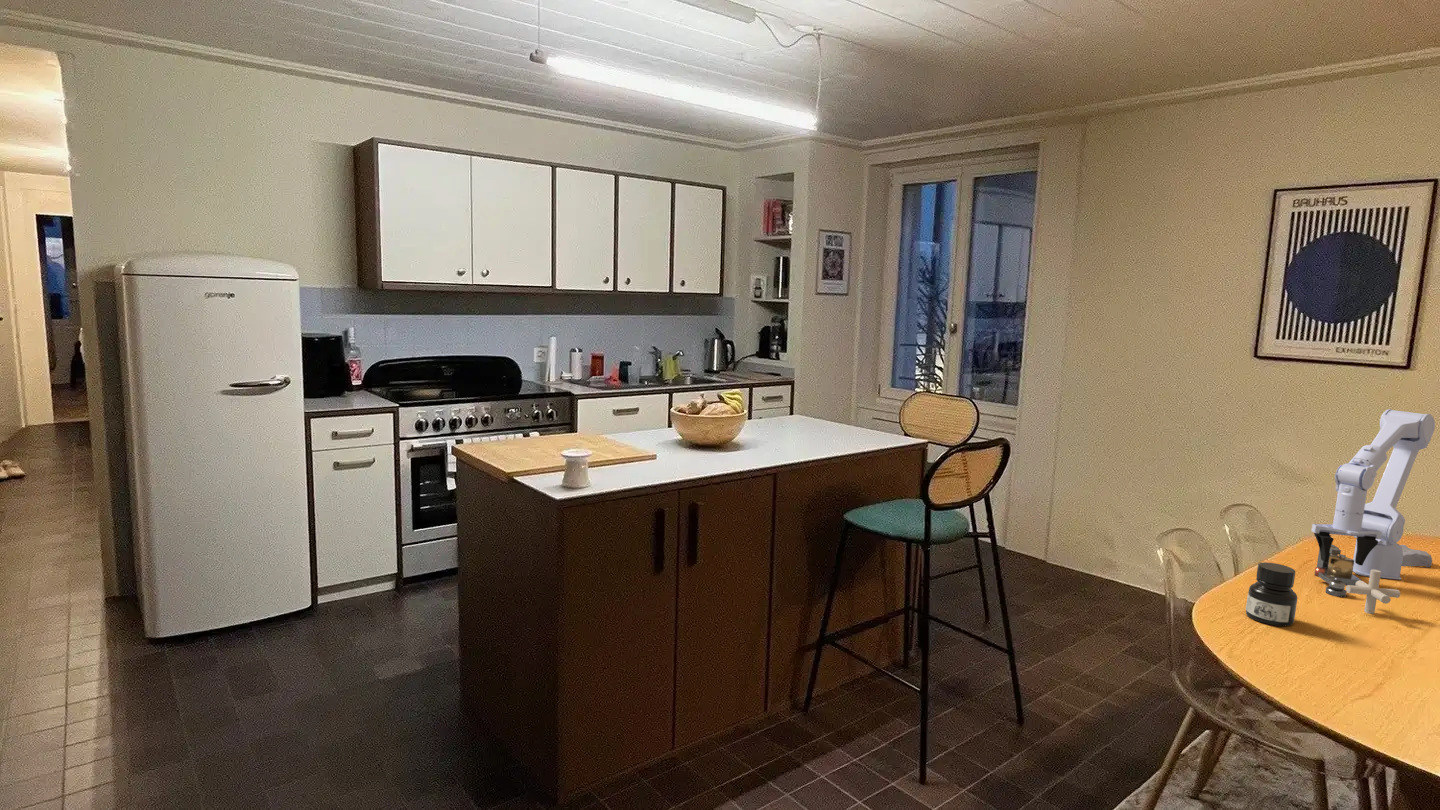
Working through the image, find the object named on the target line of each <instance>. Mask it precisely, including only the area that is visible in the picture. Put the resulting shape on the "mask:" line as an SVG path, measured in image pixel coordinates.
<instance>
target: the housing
mask: <svg viewBox="0 0 1440 810" xmlns="http://www.w3.org/2000/svg"><path fill="white" fill-rule="evenodd" d="M1353 566H1354V560H1353V558H1349V557H1347V556H1346V555H1345V554H1341V553H1340V554H1339V555H1338V556H1336V555H1331V556H1330V557H1329V564H1328V570H1327V572H1328V573H1329V574H1331V575H1334V576H1338V577H1344V578H1351V577H1352V574H1353Z"/></svg>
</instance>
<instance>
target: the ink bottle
mask: <svg viewBox="0 0 1440 810" xmlns="http://www.w3.org/2000/svg"><path fill="white" fill-rule="evenodd" d="M1295 578H1296V569H1294V568H1292V567H1290V566H1287V565H1284V564H1280V563H1274V562H1266V561H1265V562H1259V563H1257V571H1256V578H1255V580H1256V582H1255V583H1252V584H1250V585H1249V589H1248V593H1247V596H1246V597H1247V598H1246V605H1245V614H1246V616H1248V618H1250V619H1253V620H1254V621H1257V622H1259V623H1262V624H1267V625H1271V626H1276V627H1290V626H1292V625H1293V624H1294V623H1295V618H1296V610H1297V606H1298V605H1297V604H1298V595H1297V593H1296V592H1295V591H1294V590H1293V589H1292V588H1293V587H1294V585H1295Z"/></svg>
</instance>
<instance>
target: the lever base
mask: <svg viewBox="0 0 1440 810" xmlns="http://www.w3.org/2000/svg"><path fill="white" fill-rule="evenodd" d="M1334 581H1336V582H1342V578H1338V577H1334ZM1324 591H1325V593H1326V594H1327V595H1329V596H1332V597H1337V598H1346V597H1347V591H1346V589H1344V590H1343V591H1340V590H1335V589H1331V588H1329V585H1328V586H1326V587H1325V590H1324Z"/></svg>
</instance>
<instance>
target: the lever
mask: <svg viewBox="0 0 1440 810" xmlns="http://www.w3.org/2000/svg"><path fill="white" fill-rule="evenodd" d="M1314 577H1317V578H1320V579H1321V580H1322V581H1324V582H1326V583H1327V584H1328V586H1329V588H1331V589H1335V590H1340V591H1343V590H1346V585H1345V583H1343V582H1336V581H1334V579H1333V578H1332V577H1330V576H1329V575H1327V574H1326V573H1325V569H1324V568H1320V567H1317V566H1316V567H1314Z"/></svg>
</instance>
